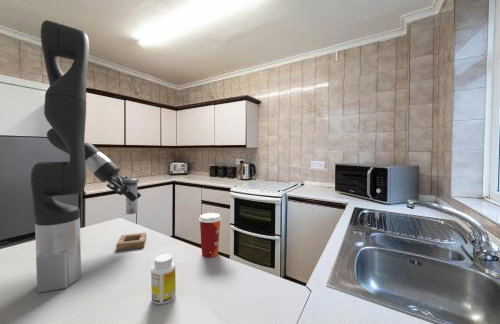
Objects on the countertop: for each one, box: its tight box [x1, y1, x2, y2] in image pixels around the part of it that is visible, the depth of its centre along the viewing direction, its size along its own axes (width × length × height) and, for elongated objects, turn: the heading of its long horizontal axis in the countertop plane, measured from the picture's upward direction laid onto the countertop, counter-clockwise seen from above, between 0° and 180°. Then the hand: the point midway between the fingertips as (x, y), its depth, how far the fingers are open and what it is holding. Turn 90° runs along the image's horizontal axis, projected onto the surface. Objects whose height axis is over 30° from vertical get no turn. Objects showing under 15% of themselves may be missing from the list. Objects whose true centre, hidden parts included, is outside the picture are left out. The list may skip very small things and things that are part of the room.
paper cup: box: [198, 212, 222, 259], centre depth 76 cm, size 8×8×14 cm
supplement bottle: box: [150, 253, 177, 305], centre depth 53 cm, size 6×6×10 cm
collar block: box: [115, 232, 147, 252], centre depth 84 cm, size 9×9×2 cm
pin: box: [124, 178, 140, 215], centre depth 83 cm, size 5×5×13 cm
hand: (137, 198), depth 83 cm, fingers closed on pin, 4 cm apart
